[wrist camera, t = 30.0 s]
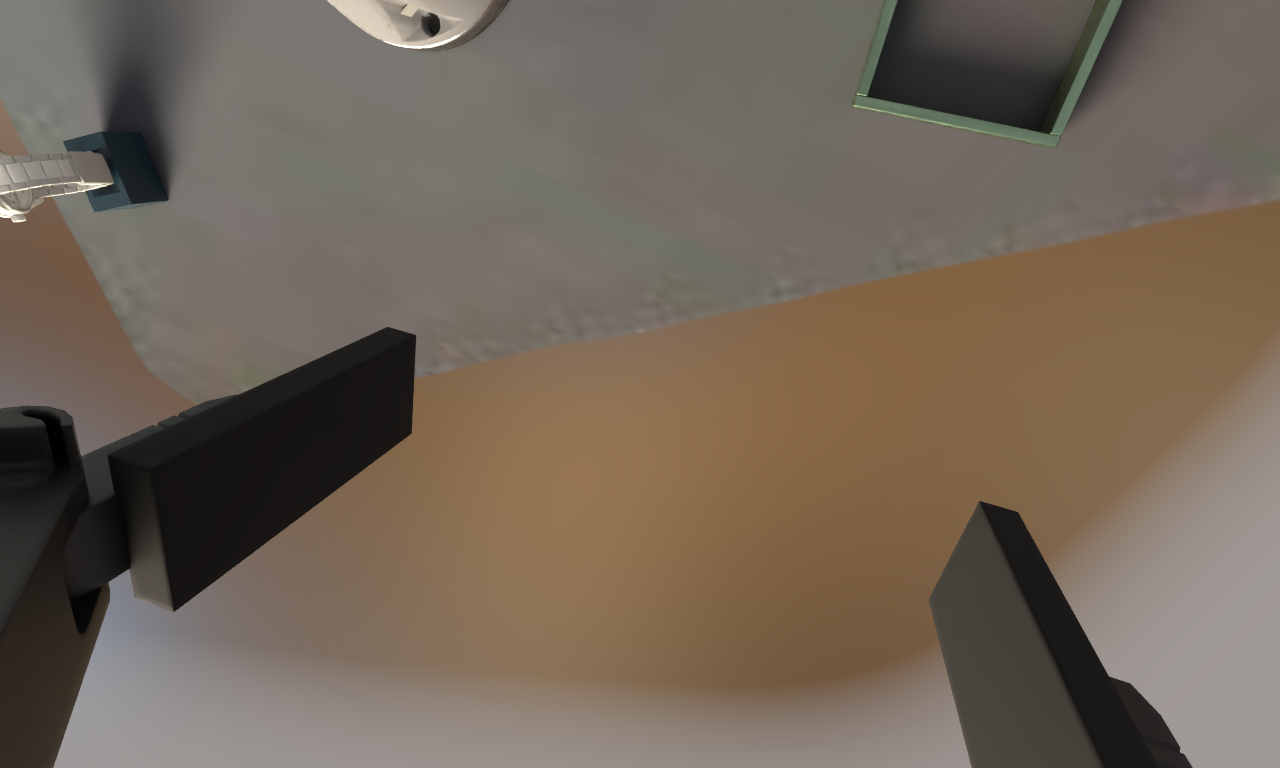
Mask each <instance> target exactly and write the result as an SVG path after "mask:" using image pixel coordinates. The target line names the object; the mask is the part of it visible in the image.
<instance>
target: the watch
mask: <svg viewBox="0 0 1280 768" xmlns="http://www.w3.org/2000/svg"><path fill="white" fill-rule="evenodd" d="M63 143H64V145H65V147H66V149H67V152H65V154H40V155H31V156H30V155H23V156H9V155H7V154H6V153H5V152H3V151H1V150H0V217H5V218H9V217H11V219H12V221H13V222H21V221H26V218H25V216H24V215H22V214H26V213H28V212H29V211H31V210H32V208H33V207H35V206H37V205H39V204H41V203H43V202H44V201H43V199H42V197H48V196H57V195H63V194H70V193H75V192H82V191H85V192H86V194H87V196H88V199H89V201H90V203H91V205H92V208H93V210H94V212H101V211H110V210H119V209H129V208H135V207H140V206H145V205H150V204H154V203H159V202H164V201H168V199H167V197H166V194H165V192H164V189H163V187H162V184H161V182H160V180H159V177H158V175H157V172H156V170H155V167H154V165H153V162H152V160H151V157H150V155H149V152H148V150H147V148H146V145H145V143H144V140H143V138H142V135H141V133H140V132H98V133H94V134H90V135H86V136H82V137H78V138H75V139H71V140H67V141H63ZM31 157H32V158H31ZM32 159H33V160H32ZM32 161H33V162H32ZM39 161H40V162H39ZM40 163H41V164H40ZM46 176H47V177H46ZM47 178H48V179H47ZM66 184H67V185H66ZM51 186H52V187H51ZM67 186H68V187H67ZM52 188H53V189H52ZM63 189H64V190H63ZM48 191H49V192H48ZM64 191H65V193H64ZM49 193H50V194H49Z"/></svg>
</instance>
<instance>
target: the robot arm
mask: <svg viewBox="0 0 1280 768" xmlns="http://www.w3.org/2000/svg"><path fill="white" fill-rule="evenodd" d="M327 1H328V2H329V3H331V4H332V5H333V6H334V7H335V8H336V9H338V10H339V11H340V12H341V13H342V14H344V15H345V16H346V17H347V18H348V19H349V20H351V21H352V22H353V23H354V24H356V25H357V26H358V27H360V28H361V29H362V30H364V31H365V32H367V33H368V34H370V35H372V36H373V37H375V38H377V39H380V40H382V41H384V42H387V43H390V44H393V45H397V46H401V47H406V48H410V49H415V50H422V51H439V50H446V49H450V48H453V47H457V46H459V45H461V44H464V43H466V42H468V41H469V40H471V39H473V38H475V37H476V36H477V35H479V34H480V33H481V32H483V31H484V30H485V29H486V28H487V27H488V26H489V25H490V24H491V23H492V22H493V21H494V20H495V19H496V17H497V16H498V15H499V14H500V12H501V11H502V10H503V8H504V7H505V5H506V3H507V2H508V0H327ZM415 348H416V335H414V334H410V333H407V332H403V331H400V330H397V329H393V328H390V327H386V328H384V329H382V330H380V331H378V332H376V333H373V334H371V335H369V336H367V337H365V338H362V339H360V340H358V341H356V342H354V343H351V344H349V345H347V346H345V347H343V348H340V349H338V350H336V351H334V352H332V353H329V354H327V355H325V356H323V357H321V358H318V359H316V360H314V361H312V362H310V363H308V364H305V365H303V366H301V367H299V368H297V369H294V370H292V371H290V372H288V373H286V374H283V375H281V376H279V377H277V378H275V379H272V380H270V381H268V382H266V383H264V384H261V385H259V386H257V387H255V388H253V389H250V390H248V391H246V392H244V393H242V394H240V395H233V396H228V397H224V398H220V399H215V400H211V401H206V402H204V403H201V404H199V405H197V406H195V407H192V408H190V409H188V410H186V411H183V412H181V413H180V414H179V416H178V417H177V416H172V417H170V418H168V419H165V420H163V421H161V422H158V425H157V426H153V425H152V426H149V427H147V428H145V429H143V430H141V431H138V432H136V433H134V434H131V435H129V436H127V437H125V438H122V439H120V440H118V441H116V442H113V443H111V444H109V445H106V446H104V447H102V448H100V449H97V450H95V451H93V452H91V453H88V454H86V455H84V456H82V457H81V455H80V450H79V445H78V441H77V436H76V432H75V427H74V422H73V418H72V416H70V415H69V414H68V413H67V412H65V411H64V410H60V409H56V408H52V407H45V406H20V407H10V408H2V409H0V768H53V766H54V763H55V760H56V757H57V755H58V752H59V748H60V746H61V743H62V740H63V737H64V734H65V731H66V728H67V725H68V722H69V719H70V716H71V713H72V711H73V708H74V705H75V702H76V699H77V696H78V693H79V690H80V687H81V684H82V681H83V678H84V675H85V672H86V669H87V666H88V663H89V660H90V657H91V654H92V652H93V648H94V646H95V643H96V640H97V637H98V634H99V631H100V628H101V625H102V622H103V619H104V616H105V613H106V610H107V607H108V604H109V602H110V588H109V583H108V582H109V581H111V580H112V579H114V578H115V577H117V576H118V575H120V574H122V573H123V572H125V571H126V570H128V569H129V570H130V575H131V580H132V585H133V590H134V595H135V597H137V598H140V599H142V600H145V601H147V602H150V603H152V604H155V605H157V606H160V607H162V608H165V609H167V610H170V611H172V612H175V611H176V610H177V609H179V608H180V607H181V606H183V605H184V604H185V603H187V602H188V601H189V600H191V599H192V598H193V597H194V596H196V595H197V594H198V593H200V592H201V591H203V590H204V589H205V588H206V587H208V586H209V585H211V584H212V583H213V582H215V581H216V580H217V579H219V578H220V577H221V576H223V575H224V574H225V573H226V572H228V571H229V570H230V569H232V568H233V567H235V566H236V565H237V564H238V563H240V562H241V561H243V560H244V559H245V558H247V557H248V556H249V555H250V554H252V553H253V552H255V551H256V550H257V549H259V548H260V547H261V546H262V545H264V544H265V543H266V542H268V541H269V540H270V539H272V538H273V537H274V536H276V535H277V534H278V533H280V532H281V531H282V530H284V529H285V528H286V527H288V526H289V525H290V524H292V523H293V522H294V521H296V520H297V519H298V518H300V517H301V516H302V515H304V514H305V513H306V512H308V511H309V510H310V509H312V508H313V507H314V506H316V505H317V504H318V503H320V502H321V501H322V500H324V499H325V498H326V497H328V496H329V495H330V494H332V493H333V492H334V491H336V490H337V489H338V488H340V487H341V486H342V485H344V484H345V483H346V482H348V481H349V480H350V479H352V478H353V477H354V476H356V475H357V474H358V473H359V472H361V471H362V470H364V469H365V468H366V467H367V466H369V465H370V464H372V463H373V462H374V461H375V460H377V459H378V458H380V457H381V456H382V455H384V454H385V453H386V452H388V451H389V450H390V449H392V448H393V447H394V446H396V445H397V444H398V443H399V442H401V441H402V440H403V439H405V438H406V437H408V436H409V435H410V434H411V433H412V413H413V392H414V370H415ZM929 603H930V607H931V611H932V615H933V619H934V623H935V627H936V630H937V634H938V638H939V642H940V646H941V649H942V654H943V657H944V662H945V665H946V669H947V673H948V677H949V681H950V685H951V689H952V693H953V697H954V700H955V704H956V708H957V711H958V716H959V719H960V724H961V728H962V731H963V735H964V739H965V743H966V747H967V750H968V755H969V759H970V763H971V766H972V768H1192V766H1191V764H1190V763H1189V761H1188V760H1187V758H1186V756H1185V755H1184V754H1182V753H1180V746H1179V745H1178V743H1177V742H1176V740H1175V738H1174V737H1173V735H1172V733H1171V731H1170V730H1169V728H1168V726H1167V725H1166V723H1165V722H1164V720H1163V718H1162V717H1161V715H1160V714H1159V713H1158V712H1157V711H1156V710H1155V709H1154V708H1153V707H1152V706H1151V705H1150V704H1149V703H1148V702H1147V700H1145V698H1144V697H1143V696H1142V695H1141V694H1140V693H1139V692H1138V691H1137V690H1136V689H1135V688H1134V687H1133V686H1132V685H1131V684H1130V683H1127V682H1124V681H1121V680H1118V679H1114V678H1112V677H1109V676H1108V674H1107V672H1106V670H1105V669H1104V667H1103V665H1102V663H1101V661H1100V660H1099V658H1098V656H1097V654H1096V653H1095V651H1094V649H1093V647H1092V645H1091V643H1090V641H1089V640H1088V638H1087V636H1086V634H1085V632H1084V631H1083V629H1082V627H1081V625H1080V623H1079V622H1078V620H1077V618H1076V616H1075V614H1074V613H1073V611H1072V609H1071V607H1070V605H1069V604H1068V602H1067V600H1066V598H1065V596H1064V595H1063V593H1062V591H1061V589H1060V587H1059V585H1058V584H1057V582H1056V580H1055V578H1054V576H1053V575H1052V573H1051V571H1050V569H1049V567H1048V566H1047V564H1046V562H1045V561H1044V558H1043V557H1042V555H1041V553H1040V551H1039V549H1038V548H1037V546H1036V544H1035V542H1034V540H1033V539H1032V537H1031V535H1030V533H1029V532H1028V530H1027V528H1026V526H1025V524H1024V522H1023V521H1022V519H1021V517H1020V515H1019V513H1018V512H1016V511H1012V510H1009V509H1005V508H1002V507H999V506H995V505H992V504H988V503H985V502H981V501H979V503H978V505H977V507H976V509H975V511H974V513H973V515H972V517H971V518H970V521H969V522H968V524H967V526H966V528H965V530H964V532H963V534H962V536H961V538H960V540H959V542H958V544H957V546H956V547H955V550H954V551H953V553H952V555H951V557H950V559H949V561H948V563H947V565H946V567H945V569H944V571H943V572H942V575H941V576H940V578H939V580H938V582H937V584H936V586H935V588H934V590H933V592H932V594H931V596H930V598H929Z"/></svg>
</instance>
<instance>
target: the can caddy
mask: <svg viewBox="0 0 1280 768" xmlns="http://www.w3.org/2000/svg"><path fill="white" fill-rule="evenodd" d="M1122 1H1123V0H1097V1H1096V4H1095V6H1094V8H1093V11H1092V13H1091V15H1090V17H1089V20H1088V22H1087V24H1086V27H1085V29H1084V31H1083V34H1082V36H1081V38H1080V40H1079V43H1078V45H1077V47H1076V50H1075V52H1074V54H1073V56H1072V59H1071V61H1070V63H1069V66H1068V68H1067V70H1066V73H1065V75H1064V77H1063V79H1062V82H1061V84H1060V86H1059V89H1058V91H1057V93H1056V96H1055V98H1054V100H1053V102H1052V105H1051V107H1050V109H1049V112H1048V114H1047V116H1046V118H1045V121H1044V123H1043V125H1042V128H1041V130H1040V132H1037V131H1033V130H1028V129H1023V128H1018V127H1013V126H1008V125H1003V124H998V123H993V122H989V121H984V120H979V119H974V118H969V117H964V116H959V115H954V114H949V113H945V112H940V111H935V110H930V109H925V108H920V107H915V106H910V105H905V104H901V103H896V102H891V101H886V100H881V99H876V98H871V97H866V96H867V95H868V93H869V89H870V86H871V83H872V80H873V77H874V74H875V71H876V67H877V64H878V61H879V58H880V55H881V52H882V49H883V46H884V42H885V39H886V36H887V33H888V30H889V27H890V24H891V20H892V17H893V14H894V11H895V8H896V5H897V2H898V0H884V3H883V7H882V10H881V13H880V16H879V19H878V23H877V26H876V29H875V32H874V36H873V39H872V42H871V45H870V48H869V52H868V55H867V58H866V61H865V64H864V68H863V71H862V74H861V77H860V81H859V84H858V87H857V90H856V93H855V97H854V100H853V103H852V107H853V108H858V109H863V110H868V111H873V112H877V113H882V114H887V115H892V116H897V117H901V118H906V119H911V120H916V121H921V122H925V123H930V124H935V125H940V126H945V127H949V128H954V129H959V130H964V131H969V132H974V133H978V134H983V135H988V136H993V137H998V138H1002V139H1007V140H1012V141H1017V142H1022V143H1026V144H1031V145H1036V146H1041V147H1053V148H1055V147H1057V145H1058V143H1059V141H1060V139H1061V136H1062V134H1063V132H1064V130H1065V127H1066V125H1067V123H1068V121H1069V119H1070V116H1071V114H1072V112H1073V110H1074V107H1075V105H1076V103H1077V101H1078V99H1079V96H1080V94H1081V92H1082V90H1083V87H1084V85H1085V83H1086V81H1087V79H1088V76H1089V74H1090V72H1091V70H1092V68H1093V65H1094V63H1095V61H1096V59H1097V56H1098V54H1099V52H1100V50H1101V48H1102V45H1103V43H1104V41H1105V39H1106V36H1107V34H1108V32H1109V30H1110V28H1111V25H1112V23H1113V21H1114V19H1115V16H1116V14H1117V12H1118V10H1119V8H1120V5H1121V3H1122Z"/></svg>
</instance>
